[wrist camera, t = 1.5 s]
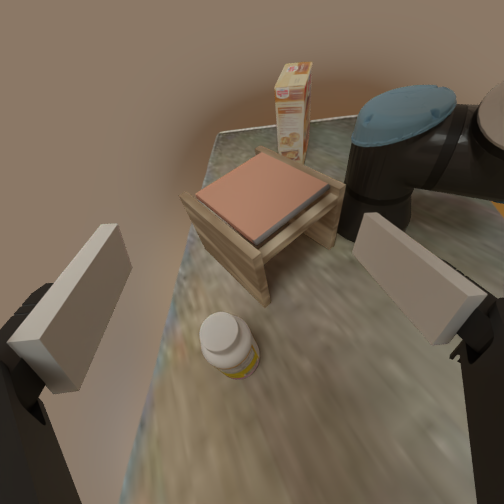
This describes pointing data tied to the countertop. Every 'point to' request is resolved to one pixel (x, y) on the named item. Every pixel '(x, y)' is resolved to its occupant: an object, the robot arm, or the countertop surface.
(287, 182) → the trapdoor
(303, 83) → the coffeecake box
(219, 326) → the supplement bottle
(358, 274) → the countertop surface
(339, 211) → the stand
